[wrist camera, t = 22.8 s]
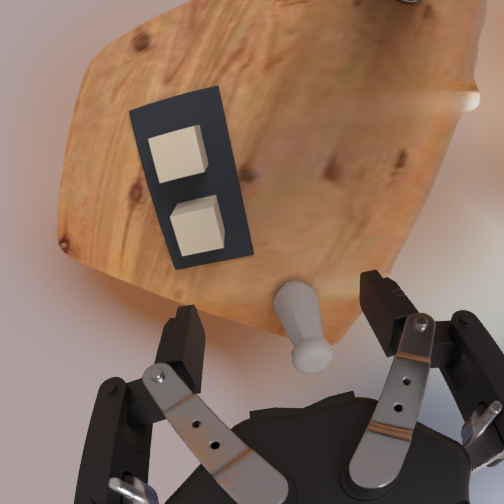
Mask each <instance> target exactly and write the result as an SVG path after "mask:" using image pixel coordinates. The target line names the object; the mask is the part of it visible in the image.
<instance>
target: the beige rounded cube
mask: <svg viewBox="0 0 504 504" xmlns="http://www.w3.org/2000/svg"><path fill="white" fill-rule="evenodd" d="M148 141H149V145H150V149H151V153H152V157H153V161H154V164H155V168H156V172H157V175H158V179H159V183H163V182H167V181H171V180H174V179H178V178H182V177H186V176H190V175H194V174H199V173H203V172H205V170H206V168H207V166H208V165H209V164H208V159H207V155H206V151H205V146H204V142H203V138H202V133H201V129H200V125H196V126H192V127H188V128H184V129H180V130H177V131H173V132H170V133H166V134H163V135H159V136H156V137H153V138H149V139H148Z"/></svg>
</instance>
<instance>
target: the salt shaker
mask: <svg viewBox="0 0 504 504" xmlns="http://www.w3.org/2000/svg"><path fill="white" fill-rule="evenodd" d="M273 305H274V311H275V313H276V315H277V317H278V318H279V320H280V322H281V324H282V326H283V327H284V329H285V331H286V333H287V335H288V336H289V338H290V340H291V342H292V343H293V345H294V348H293V350H292V353H291V354H292V363H293V365H294V367H295V369H296V370H297V371H298V372H301V373H305V374H315V373H319V372H321V371H323V370H324V369H326V368H327V367H328V366H329V365H330V363H331V362H332V360H333V350H332V348H331V345H330V344H329V343H328V341H327V340H326V339H324V338H323V332H322V324H321V317H320V309H319V302H318V296H317V294H316V293H315V291H314V290H313V288H312V287H310V286H308V285H307V284H305V283H303V282H301V281H299V280H296V281H290V282H285V283H284V285H283V286H282V287H281V289H280V290H279V291H278V292H277V294H276V296H275V298H274V301H273Z"/></svg>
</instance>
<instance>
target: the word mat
mask: <svg viewBox="0 0 504 504" xmlns="http://www.w3.org/2000/svg"><path fill="white" fill-rule="evenodd" d="M129 113H130V117H131V122H132V126H133V130H134V134H135V138H136V142H137V146H138V150H139V154H140V158H141V161H142V165H143V169H144V172H145V176H146V179H147V183H148V186H149V190H150V193H151V197H152V200H153V203H154V207H155V210H156V213H157V216H158V219H159V223H160V226H161V229H162V232H163V235H164V238H165V241H166V244H167V247H168V250H169V253H170V256H171V259H172V261H173V264H174V267H175V270H177V269H182V268H187V267H192V266H197V265H202V264H207V263H213V262H218V261H223V260H228V259H233V258H238V257H243V256H248V255H253V254H254V252H253V247H252V242H251V238H250V233H249V228H248V224H247V219H246V214H245V209H244V205H243V200H242V195H241V190H240V186H239V181H238V176H237V172H236V167H235V162H234V158H233V153H232V148H231V143H230V139H229V134H228V129H227V125H226V120H225V115H224V111H223V106H222V101H221V97H220V92H219V87H218V86H214V87H210V88H205V89H201V90H197V91H193V92H189V93H186V94H182V95H178V96H175V97H171V98H168V99H164V100H161V101H158V102H155V103H151V104H148V105H145V106H142V107H139V108H136V109H134V110H131V111H129ZM196 125H200V129H201V133H202V138H203V142H204V146H205V151H206V155H207V159H208V164H209V165H208V166H207V168H206V170H205V172H203V173H199V174H194V175H190V176H186V177H182V178H178V179H174V180H171V181H167V182H163V183H159V179H158V175H157V172H156V168H155V164H154V161H153V157H152V153H151V149H150V145H149V141H148V139H149V138H153V137H156V136H159V135H163V134H166V133H170V132H173V131H177V130H180V129H184V128H188V127H192V126H196ZM213 195H216V197H217V201H218V205H219V209H220V213H221V217H222V221H223V225H224V229H225V237H224V248H221V249H216V250H211V251H206V252H201V253H196V254H191V255H186V256H182V254H181V251H180V248H179V245H178V242H177V238H176V235H175V232H174V229H173V226H172V222H171V219H170V216H171V214H172V213H173V211H174V209H175V207H176V206H177V204H178V203H182V202H186V201H191V200H195V199H199V198H204V197H208V196H213Z"/></svg>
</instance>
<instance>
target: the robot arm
mask: <svg viewBox="0 0 504 504" xmlns="http://www.w3.org/2000/svg"><path fill="white" fill-rule="evenodd" d="M398 1H400V2H404V3H416V2H419V1H421V0H398ZM360 306H361V309H362V311H363V313H364V315H365V316H366V318H367V320H368V322H369V324H370V326H371V328H372V329H373V331H374V333H375V335H376V337H377V339H378V341H379V343H380V345H381V347H382V349H383V350H384V352H385V354H386V356H387V357H390V356H393V355H395V356H394V359H393V363H392V365H391V368H390V371H389V374H388V377H387V380H386V382H385V385H384V388H383V391H382V393H381V396H380V398H379V401H377V400H375V399H371V398H365V397H355V395H354V392H353V391H350V392H346V393H342V394H338V395H334V396H331V397H327V398H325V399H323V400H321V401H319V402H317V403H314V404H312V405H310V406H307V407H305V408H269V409H262V410H255V411H250V418H249V419H247V420H245V421H242V422H241V423H239V424H237V425H235V426H234V427H233V428H232V429H229V428H228V427H227V426H226V425H225V424H224V423H223V422H222V421H221V420H220V419H219V418H218V416H217V415H216V414H214V412H213V411H212V410H211V409H210V408H209V407H208V406H207V405H206V404H205V403H204V402H203V401H202V399H201V398H200V397H199V396H198V395H197V394H199V393H201V381H202V369H203V359H204V348H205V332H204V328H203V326H202V323H201V320H200V318H199V315H198V313H197V310H196V307H195V306H194V305H187V306H181V307H178V309H177V313H176V317H175V318H170V319H169V321H168V322H167V323H166V325H165V326H164V328H163V332H162V336H161V340H160V341H161V342H160V343H159V347H158V351H157V355H156V359H155V363H154V365H152V366H150V367H148V368H147V369H146V371H145V372H144V374H143V376H142V378H140V379H138V380H135V381H132V382H129V383H125V381H124V380H123V379H121V378H119V377H113V378H109V379H107V380H106V381H104V382H103V383H102V385H101V386H100V388H99V391H98V394H97V398H96V401H95V405H94V409H93V412H92V416H91V420H90V424H89V428H88V432H87V437H86V441H85V445H84V450H83V455H82V460H81V464H80V469H79V475H78V481H77V486H76V493H75V500H74V504H159V502H158V496H157V493H156V491H155V490H154V489H153V488H152V487H151V486H149V485H148V472H149V471H148V470H149V458H150V446H151V437H152V436H151V435H152V427H153V423H155V422H158V421H161V420H165V419H167V420H168V422H169V423H170V424H171V426H172V427H173V428H174V430H175V431H176V432H177V434H178V435H179V436H180V438H181V439H182V440H183V442H184V443H185V444H186V445H187V447H188V448H189V449H190V450H191V452H192V453H193V454H194V455H195V457H196V458H197V459H198V460H199V461H200V463H201V464H200V465H199V466H198V467H197V468H196V469H195V471H194V472H193V473H192V474H191V475H190V476H189V477H188V478H187V479H186V481H185V482H184V483H183V484H182V485H181V486H180V487H179V488H178V489H177V491H175V492H174V494H173V495H172V496H171V497H170V498H169V499H168V500H167V501H166V502H165V504H470V501H469V481H470V475H471V474H473V473H475V472H476V471H478V470H480V469H482V468H483V467H485V466H487V467H493V466H496V465H497V464H499V463H500V462H501V461H502V460H504V354H503V353H502V351H501V350H500V348H499V347H498V345H497V344H496V342H495V341H494V340H493V338H492V337H491V335H490V334H489V333H488V331H487V330H486V328H485V327H484V326H483V324H482V323H481V322H480V320H479V319H478V318H477V317H476V315H474V314H473V313H471V312H469V311H465V310H461V311H457V312H455V313H454V314H453V316H452V319H451V321H434V319H433V318H432V317H431V316H429V315H427V314H425V313H419V312H418V311H417V309H416V308H415V307H414V305H413V304H412V303H411V301H410V300H409V299H408V297H407V296H406V295H405V294H404V292H403V291H402V290H401V288H400V287H399V286H398V284H397V283H396V282H395V281H393V280H391V279H390V278H388V277H386V278H382V276H381V275H380V274H379V272H378V271H377V270H371V271H367V272H362V273H361V275H360ZM430 368H439V369H440V371H441V373H442V375H443V377H444V379H445V381H446V383H447V385H448V387H449V389H450V391H451V393H452V395H453V397H454V399H455V401H456V404H457V406H458V408H459V410H460V412H461V415H462V417H463V419H464V421H465V423H464V425H463V427H462V430H461V436H462V445H461V444H460V443H458V442H457V441H455V440H453V439H451V438H449V437H446V436H445V435H442V434H441V433H439V432H436V431H435V430H433V429H431V428H429V427H427V426H425V425H423V424H421V423H419V422H417V421H416V420H417V418H418V414H419V410H420V407H421V404H422V400H423V396H424V392H425V388H426V384H427V380H428V375H429V370H430Z"/></svg>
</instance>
